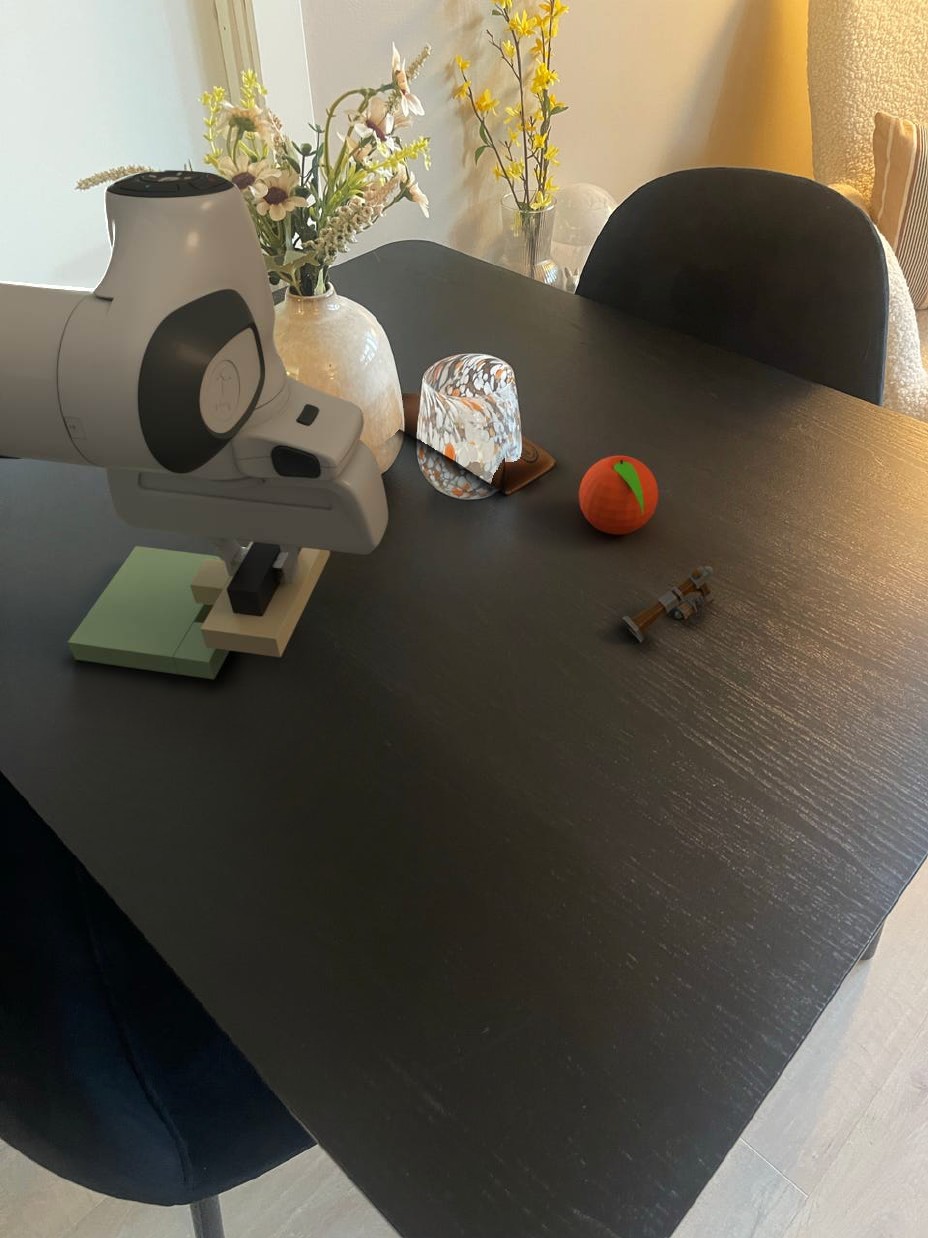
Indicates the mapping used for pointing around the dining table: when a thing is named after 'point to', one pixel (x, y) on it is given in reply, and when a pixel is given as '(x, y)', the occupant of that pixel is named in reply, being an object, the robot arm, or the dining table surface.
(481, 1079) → the dining table surface
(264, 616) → the cream pad
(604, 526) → the clementine
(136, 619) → the green pad
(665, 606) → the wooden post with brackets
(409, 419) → the dark brown wedge
